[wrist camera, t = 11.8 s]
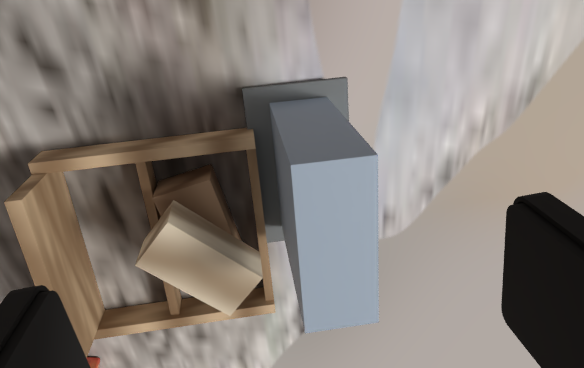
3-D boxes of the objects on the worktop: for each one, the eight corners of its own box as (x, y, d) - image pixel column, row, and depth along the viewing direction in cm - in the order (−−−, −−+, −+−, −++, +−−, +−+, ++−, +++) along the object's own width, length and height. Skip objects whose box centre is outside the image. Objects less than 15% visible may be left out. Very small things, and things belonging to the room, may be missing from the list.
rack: (252, 127, 41) (257, 157, 34) (272, 293, 48) (280, 349, 41) (41, 151, 39) (-1, 189, 32) (95, 319, 47) (70, 381, 39)
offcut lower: (211, 162, 42) (209, 179, 38) (250, 260, 47) (251, 283, 43) (158, 179, 42) (152, 198, 38) (202, 275, 47) (200, 299, 43)
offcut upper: (173, 200, 39) (167, 222, 35) (260, 252, 42) (262, 277, 38) (143, 239, 40) (135, 265, 36) (230, 287, 43) (230, 316, 39)
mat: (345, 76, 40) (347, 78, 40) (351, 228, 46) (352, 231, 46) (241, 88, 39) (242, 89, 39) (261, 240, 45) (261, 243, 45)
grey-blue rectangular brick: (327, 96, 40) (377, 154, 26) (332, 219, 45) (378, 322, 31) (269, 103, 40) (290, 165, 26) (281, 226, 44) (305, 333, 31)
